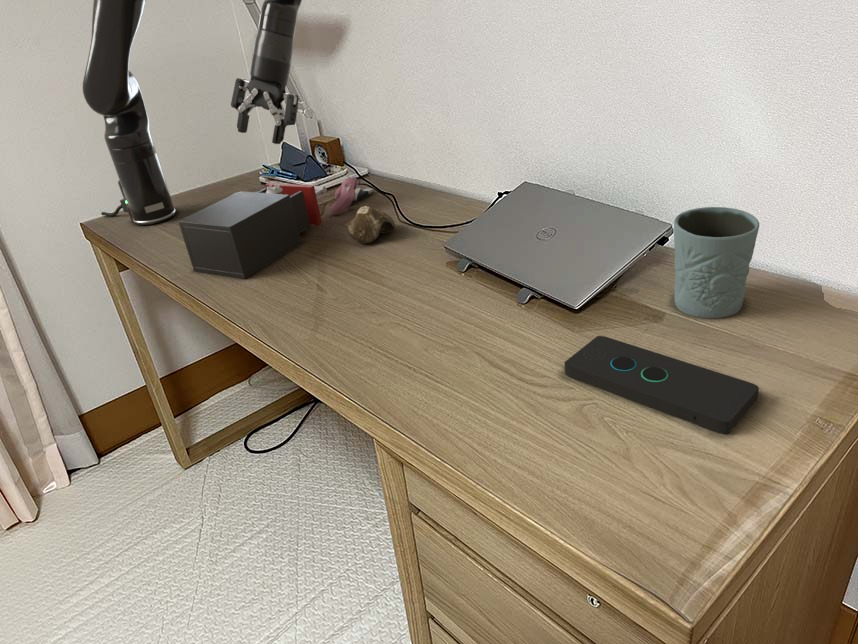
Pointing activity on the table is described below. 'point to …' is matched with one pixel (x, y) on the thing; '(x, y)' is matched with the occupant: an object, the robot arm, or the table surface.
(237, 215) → the dark grey box
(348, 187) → the pink irregular lump
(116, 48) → the robot arm
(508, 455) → the table surface
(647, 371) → the smart home device
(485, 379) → the table surface
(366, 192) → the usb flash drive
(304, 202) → the drawer
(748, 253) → the grey-green embossed cup
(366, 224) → the fossilized seashell
